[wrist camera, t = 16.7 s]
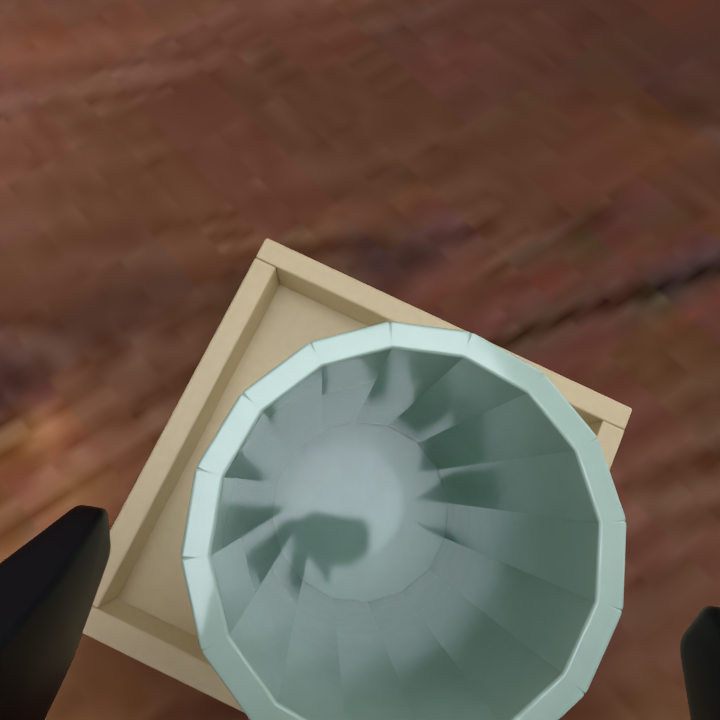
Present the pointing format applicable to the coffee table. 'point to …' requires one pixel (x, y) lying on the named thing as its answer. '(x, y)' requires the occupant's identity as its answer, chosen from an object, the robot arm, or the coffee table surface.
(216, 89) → the coffee table surface
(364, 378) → the cup
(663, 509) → the coffee table surface
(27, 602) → the robot arm
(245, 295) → the tray
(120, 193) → the coffee table surface
